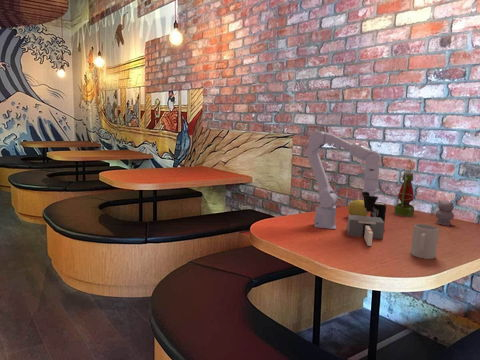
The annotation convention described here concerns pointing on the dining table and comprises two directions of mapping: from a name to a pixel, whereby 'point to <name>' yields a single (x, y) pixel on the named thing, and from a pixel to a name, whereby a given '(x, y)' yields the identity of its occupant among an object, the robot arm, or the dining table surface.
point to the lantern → (405, 195)
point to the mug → (424, 241)
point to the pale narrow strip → (368, 235)
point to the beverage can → (379, 210)
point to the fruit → (357, 208)
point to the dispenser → (358, 226)
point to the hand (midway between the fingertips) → (368, 209)
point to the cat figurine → (444, 212)
